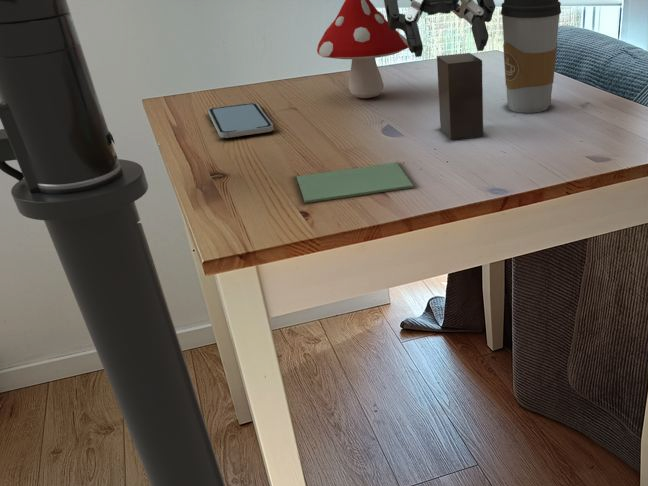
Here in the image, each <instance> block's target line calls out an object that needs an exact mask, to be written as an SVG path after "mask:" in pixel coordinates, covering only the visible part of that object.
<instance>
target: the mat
mask: <svg viewBox="0 0 648 486" xmlns="http://www.w3.org/2000/svg"><path fill="white" fill-rule="evenodd" d="M296 180H297V183H298V184H297V185H298V186H299V190H300V193H301V195H302V199H303V201H304V204H309V203H318V202H323V201H329V200H331V201H332V200H337V199H344V198H350V197H351V198H352V197H359V196H366V195H371V194H372V195H373V194H379V193H380V194H381V193H386V192H394V191H400V190H407V189H412V188H414V185H413V183H412V182H411V180H410V178H409V177H408V176H407V175H406V173H405V172H404V170H403V169H402V167H401V166H400V165H399V163H398V162H392V163H384V164H377V165H369V166H362V167H354V168H346V169H339V170H332V171H326V172H325V171H324V172H317V173H310V174H302V175H296Z"/></svg>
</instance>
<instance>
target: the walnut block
mask: <svg viewBox="0 0 648 486" xmlns="http://www.w3.org/2000/svg"><path fill="white" fill-rule="evenodd" d="M436 66H437V67H436V68H437V85H438V87H437V89H438V107H439V129H440V131H441V132H442V133H443V134H444V135H445V136H446V137H447V138H448V139H449V140H450V141H455V140H456V141H458V140H464V139H472V138H480V137H484V97H483V96H484V91H483V90H484V89H483V88H484V87H483V85H484V84H483V60H482V59H481V58H479V57H478V56H476V55H475V54H473V53H471V52H467V53H466V52H465V53H464V52H463V53H454V54H443V55H437V56H436Z"/></svg>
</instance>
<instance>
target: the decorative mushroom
mask: <svg viewBox="0 0 648 486" xmlns="http://www.w3.org/2000/svg"><path fill="white" fill-rule="evenodd" d="M407 49H409V47H408V43H407V39H406V36H404V35H403V34H401V33H400V32H399V31H398V29H396V30H391V29H390V28H389V26H388V20H387V18H386V17H385V15H384V14H383V13H382V11H379V10H378V9H377V8H376V6H375V5H374V4H373V2H372V1H371V0H344V2H343V4H342V6H341V8H340V9H339V11H338V13H337V15H336V17H335V18H334V20H333V21H332V22H331V23H330V24H329V25H328V26H326V28H325V30H324V32H323V35H322V37H321V38H320V40H319V42H318V44H317V49H316V53H317V54H318V56H320V57H321V58H329V59H334V60H351V65H350V71H349V78H348V90H349V93H350V94H351V95H353V96H354V97H357V98H358V99H372V98H376V97H377V96H379V95H381V94H382V93H383V91H384V87H385V85H384V81H383V78H382V75H381V72H380V69H379V66H378V64H377V61H376V59H378V58H383V57H389V56H394V55H396V54H399V53H401V52H403V51H405V50H407Z"/></svg>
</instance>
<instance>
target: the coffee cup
mask: <svg viewBox="0 0 648 486" xmlns="http://www.w3.org/2000/svg"><path fill="white" fill-rule="evenodd" d="M561 5H562V3H561V1H559V0H503V2H502V3H501V6H500V7H501V9H500V15H501V17H502V18H501V19H502V21H501V22H502V36H503V44H502V45H503V49H502V50H503V63H504V79H505V88H506V104H507V105H508V108H509V109H510V110H511V111H513V112H516V113H524V114H525V113H526V114H532V113H540V112H544V111H546V110H548V109H549V107H550V105H551V102H552V94H553V93H552V92H553V84H554V78H555V70H556V60H557V59H556V58H557V50H558V33H559V23H560V15H561V14H562V8H561Z"/></svg>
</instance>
